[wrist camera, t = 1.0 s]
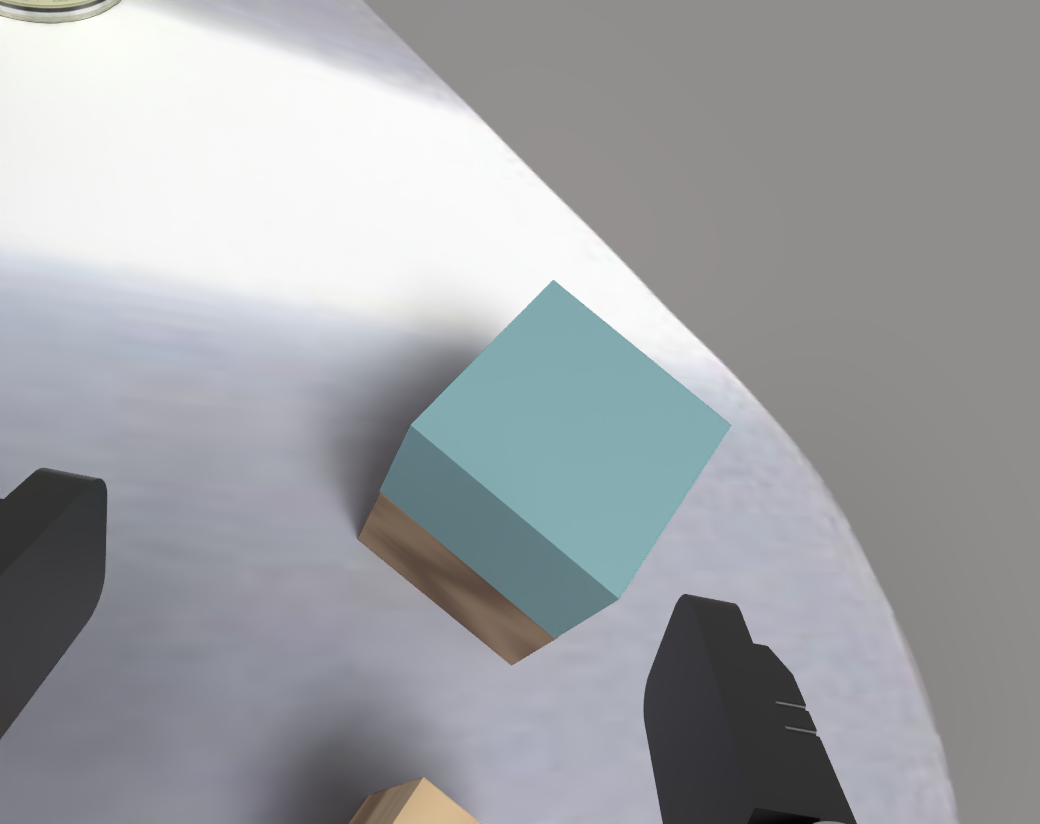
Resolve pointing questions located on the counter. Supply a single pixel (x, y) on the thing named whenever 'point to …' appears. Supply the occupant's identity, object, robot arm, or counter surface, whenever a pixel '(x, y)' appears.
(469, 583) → the walnut base block
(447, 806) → the oak block
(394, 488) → the teal top block
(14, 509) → the robot arm
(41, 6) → the coffee can
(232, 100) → the counter surface
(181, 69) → the counter surface
